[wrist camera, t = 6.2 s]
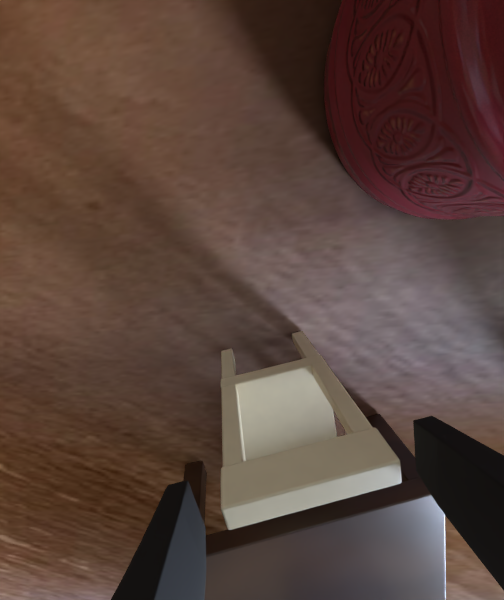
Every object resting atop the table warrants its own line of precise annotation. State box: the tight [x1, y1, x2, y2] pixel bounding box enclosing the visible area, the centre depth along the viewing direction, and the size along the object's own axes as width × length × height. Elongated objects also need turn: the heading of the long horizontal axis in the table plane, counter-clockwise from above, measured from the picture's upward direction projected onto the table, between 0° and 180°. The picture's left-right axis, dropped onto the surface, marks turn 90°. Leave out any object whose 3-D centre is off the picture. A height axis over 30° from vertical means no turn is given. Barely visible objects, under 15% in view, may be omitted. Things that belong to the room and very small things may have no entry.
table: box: [183, 414, 446, 600], centre depth 19 cm, size 12×14×6 cm
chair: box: [220, 331, 402, 530], centre depth 14 cm, size 5×5×10 cm
